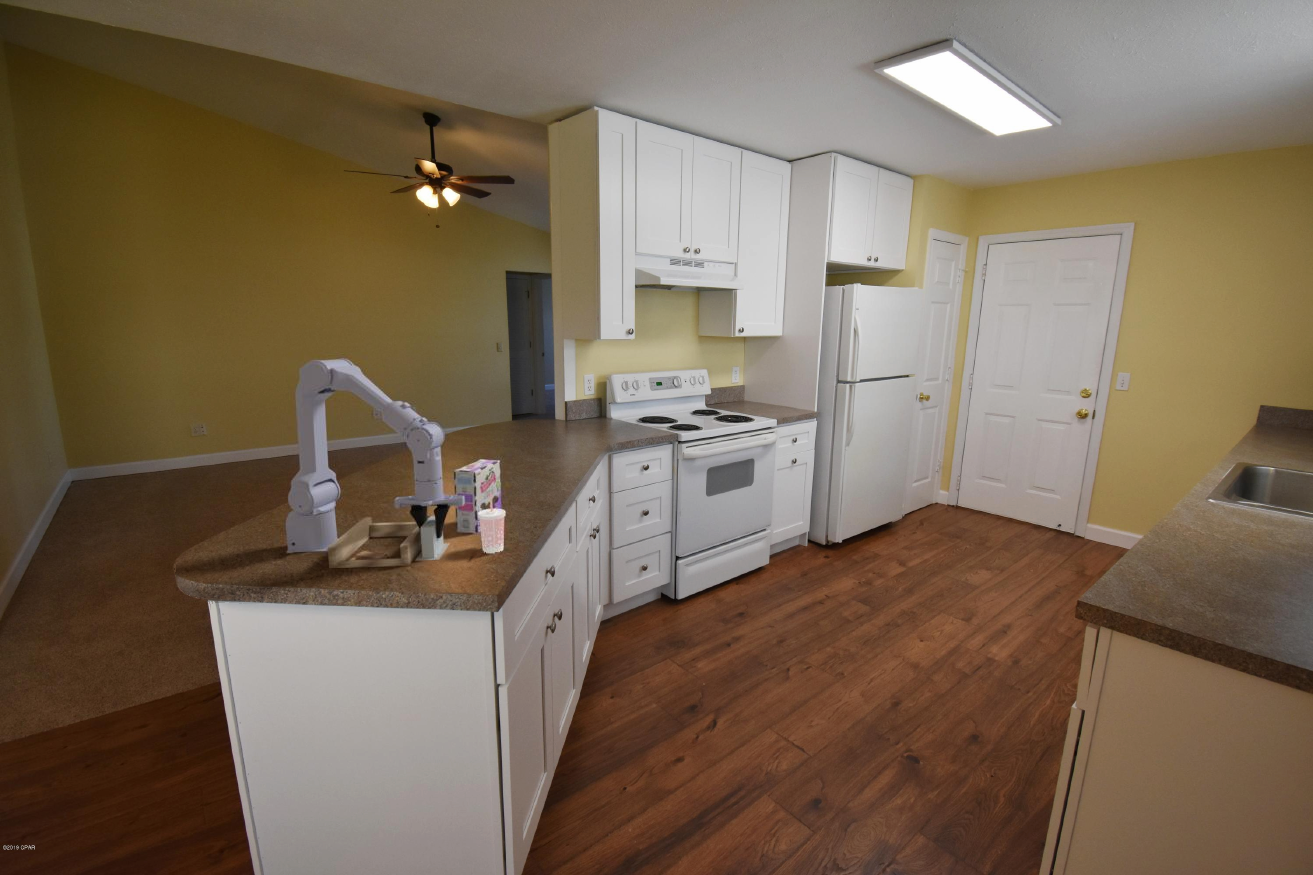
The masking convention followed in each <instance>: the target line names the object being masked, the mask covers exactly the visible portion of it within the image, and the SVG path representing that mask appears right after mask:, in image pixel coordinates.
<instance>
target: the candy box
mask: <svg viewBox="0 0 1313 875" xmlns="http://www.w3.org/2000/svg"><path fill="white" fill-rule="evenodd" d="M453 480H454V482H453V484H454V495H456V496H464V499H465V504H464V505H463V506H455V523H456V524H455V527H456V533H462V534H473V535H475V534H479V533H481V529H480V520H479V518H478V512H480V511H482V510H485V509H490V491H492V506H493V509H495V508H496V509H503V507H502V504H503V503H502V502H503V501H502V482H501V481H502V480H501V460H498V459H497V460H496V459H482V458H480V459H478V460H477V461H475V462H472V463H470V464H467V465H465V466H462V467H460V468H457V469H454V470H453Z"/></svg>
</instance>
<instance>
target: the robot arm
mask: <svg viewBox="0 0 1313 875" xmlns="http://www.w3.org/2000/svg"><path fill="white" fill-rule="evenodd" d="M298 372H299V381H298V383H297V386H296V388H295V392H294V394H295V396H294V397H295V407H296V408H295V409H296V410H295V411H296V423H297V424H296V425H297V426H296V427H297V442H298V457H299V458H298V459H299V471H298V472H297V473H296V475H294V476H293V478H292V479H291V481H290V491H289V492H288V496H287V499H288V500H287V502H288V504H289V507H290V508H291V509H292V510H291V511H290V512H289V513H288V515H287V516H286V520H285V532H286V533H285V534H286V543H287V551H286V554H293V553H299V552H300V553H306V552H308V553H309V552H312V553H313V552H328V549H327V548H328V547H329V546H330V545H331V544H333V543H334V542H335V541H336V540H338V539H339V538H340V537H339V538H338V531H337V522H336V511H335V507H336V506H337V504H336V502H337V501H338V499H339V498H340V497H341V496H340V495H341V488H340V485H339V483H338V481H337V474H336V472H334V471H333V470H332V469H330V467H329V459H328V458H329V456H328V454H329V453H328V438H327V421H326V420H327V418H326V400H327V399H328V398H329V397H331V396H332V395H334V393H336V392H337V391H340V392H341V391H342V392H343V391H344V392H351V393H352V394H354V395H356V396H357V397H358V398H360V399H361V400H363V401H364V402H365V403H367V404H368V405H370V406H371V407H373V408H374V409H375V410H377V411H378V412H380V413H381V419H382V422H384V423H385V424H386V425H387V426H389V427H390V428H391V429H393V430H394V431H395V432H396V433H398V434H399V436H401V437H402V438H404V439H405V443H406V445H407V448H408V449H409V450H410V451H411V455H412V459H413V460H412V462H413V475H414V489H415V495H409V496H397V497H396V498H395V499H394V500H393V501H394V508H395V509H400V508H407V507H409V508H410V510H409V514H410V516H411V517H412V518H413V520H414V522H416V523H417V525H418V527H419V529H420V532H421V527H422V525H423V524H424V523H425V522H426V521H427V516H428V507H435V508H434V509H433V516H435V521H436V535H437V538H441V536H442V531H443V530H444V524H445V522H446V521H445V520H446V518H447V515H448V513H449V510H450V507H451V506H463V505H464V504H465V499H464V496H456V495H455V494H453V495H452V494H444V483H443V467H442V465H443V463H442V452H441V449H442V448H441V446H442V445H443V443H444V442H445V438H446V435H445V431H444V429H443V427H442V426H440V424H439V423H437V422H435V421H428V419H427V418H426V417H422V416H421V415H419V414H418V412H415V410H413V409H412V408H411V404H409V403H408V402H403V401H401V400H397V401H394V400H392V399H391V398H390V397H389V396H388V395H386V394H385V393H384V392H383V391H382V389H380V388H379V387H378V386H377V385H375V384H374V382H372V381H371V380H370V379H369V378H368V377H367V376H365V375H364V373H363V372H362V370H361V367H360V366H359V367H358V366H357V365H355V364H354V363H353V362H352V361H350V360H349V359H347V358H342V357H340V358H337V359H322V360H319V359H312V360H309V361H308V362H306V363H305V364H304V365H303V366H302V367H300V368H299V370H298ZM443 532H444V531H443Z"/></svg>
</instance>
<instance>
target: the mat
mask: <svg viewBox="0 0 1313 875" xmlns="http://www.w3.org/2000/svg"><path fill="white" fill-rule="evenodd" d="M443 544H444V545H443V546H442V548H441V549H440V550H439V552H438V553H437V555H436V556H435V558H422V551H420V552H419V553H418V555H417V556H416V557H415V559H414V561H415V562H417V561H418V562H420V561H439V560H440V559H441V558H442V556H443V555H444V553H445V551H446V550H447V548H448V547H449V545H450V544H451V542H443Z"/></svg>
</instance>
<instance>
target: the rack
mask: <svg viewBox="0 0 1313 875" xmlns="http://www.w3.org/2000/svg"><path fill="white" fill-rule="evenodd" d="M430 516H431V515H427V520H428V519H429V517H430ZM384 537H385V538H386V537H388V538H389V537H406V539H405V540H403V541H402V543H401V544H400V546H399V548H400V558H387V559H372V560H351V559H348V558H350V557H351V555H353V554H354V553H355V552H356V551H357V550H358V549H359V548H360V547H361V546H363V544H364V543H366V542H367V541H368V540H369V539H370V538H384ZM327 549H328V551H327V557H328V566H329V567H328V568H329V569H342V568H344V569H345V568H370V567H371V568H374V567H399V566H401V567H402V566H404V567H405V566H410V565H411V564H412V562H413V561H415V559H416V558H417V557H418V556H419V554H420V553H421V552H422V543H421V532H420V529H419V527H418V525H417V523H416V521H407V522H406V521H405V522H403V521H402V522H373V521H372V517H371V516H370V517H369V516H367V517H365V516H364V518H362V519H361V520H359V521H358V522H357V523H356V524H355V525H353V526H352V527H351V528H350V529H348V530H347V531H346V532H345V533H344V534H342V535H341V536H340V537H339V539H338V540H336V541H335V542H334V543H333V544H331V545H330V546H329V547H328V548H327Z"/></svg>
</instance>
